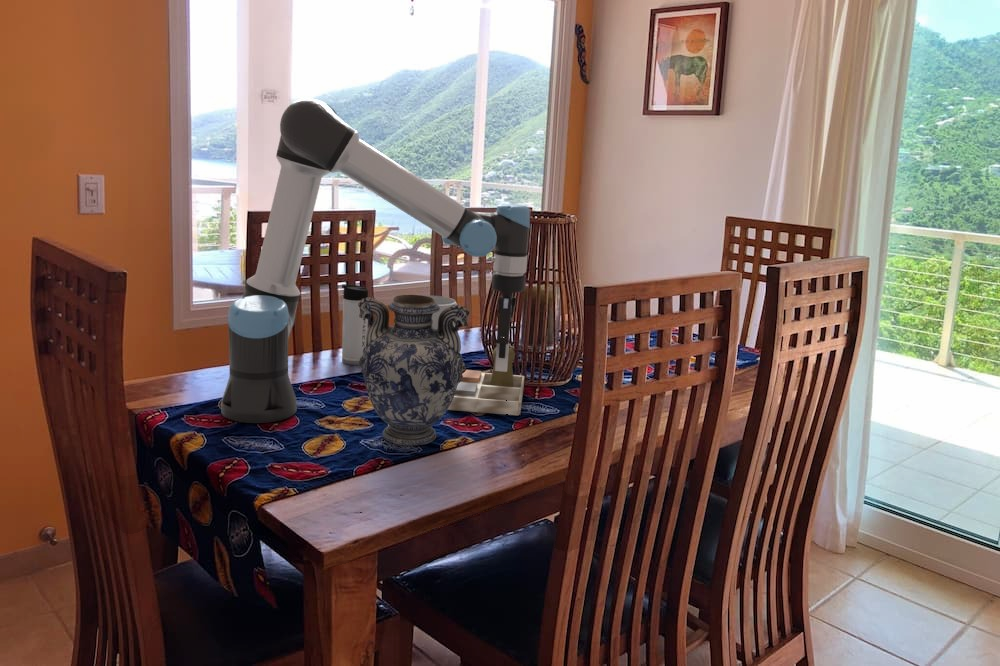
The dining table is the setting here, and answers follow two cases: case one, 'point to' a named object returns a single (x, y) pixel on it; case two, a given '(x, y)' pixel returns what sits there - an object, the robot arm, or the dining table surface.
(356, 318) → the travel mug
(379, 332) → the decorative vase
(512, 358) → the cork
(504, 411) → the socket board
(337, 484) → the dining table surface
